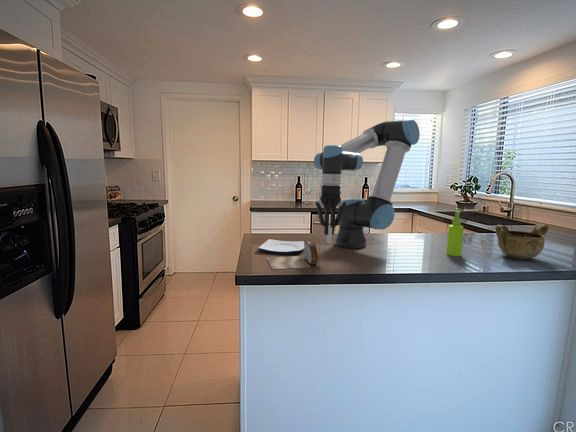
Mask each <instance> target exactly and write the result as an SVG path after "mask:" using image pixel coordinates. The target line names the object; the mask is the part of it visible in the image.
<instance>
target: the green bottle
mask: <svg viewBox="0 0 576 432" xmlns="http://www.w3.org/2000/svg"><path fill="white" fill-rule="evenodd" d="M454 213H455V214H454V216H453V218H452V223H451V224H449V225H448V234H447V244H446V245H447V246H446V254H447V255H448V256H451V257H461V256H462V247H463V237H464V229H465V228H464V226H463V225H461V223H462V218H461V217H460V215H461V214H460V213H461V210H459V209H457V210H456V209H455V210H454Z"/></svg>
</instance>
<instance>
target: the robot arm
mask: <svg viewBox="0 0 576 432" xmlns="http://www.w3.org/2000/svg"><path fill="white" fill-rule="evenodd" d="M420 136H421V135H420V126H419V125H418V123H417V122H416V121H415V120H414V119H413V118H411V119H410V118H409V119H406V118H404V119H399V120H398V119H397V120H389V121H388V120H387V121H383V122H380V123H377V124H375V125H373V126H372V127H369V128H367V129H365V130H364V131H363V132H362V133H361V134H360V135H358V136H356V137H354V138H352V139H350V140H348V141H346V142H344V143H342V144H340V145H334V144H332V145H324V147H323V149H322V150H323V151H322V152H319V153H316V155H314V157H313V164H314V167H315V168H316V169H318V170H322V171H321V172H322V173H321V174H322V175H321V184H322V185H321V195H320V198H319V200H318V201H315V202H314V205H315V207H316V211H317V216H318V220H319V225H321V226H323V227H324V229H323V234H324V235H325V243H326V244H332V243H333V242H332V239H333V235H334V234H335V228H336V227H337V226H339V228H338V231H337V233H336V234H337V235H336V237H335V242H334V243H335V245H336V247H339V248H343V249H344V248H345V249H363V248H365V247H367V240H366V236H365V232H364V228H369V229H373V230H382V231H383V230H386V229H387V228H389V227H390V226H391V225H392V223H393V222H394V220H395V214H396V213H395V208H394V207H393V202H392V200H391V199H392V196H393V193H394V189H395V187H396V183H397V180H398V176H399V173H400V170H401V169H402V164H403V161H404V158H405V155H406V154H407V153H409V152H410V151H411V148H412V146H415V145H417V144H418V142H419V141H420ZM383 146H384V147H386V152H385V154H384V157H383V161H382V163H381V166H380V170H379V172H378V175H377V179H376V181H375V184H374V188H373V190H372V193H371V194H370V195H368V196H367V199H366V201H365V198H351V199H343V200H342V198H341V187H342V186H341V184H342V183H341V181H342V171H351V172H353V171H359V170H361V168H362V167H363V164H364V159H363V158H364V157H363V156H362V154H361V153H363V152H365V151H366V150H368V149H374V148H376V147H383ZM322 205H323V208H324V214H323V209H322ZM337 207H338V208H337ZM336 211H337V212H336Z"/></svg>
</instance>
